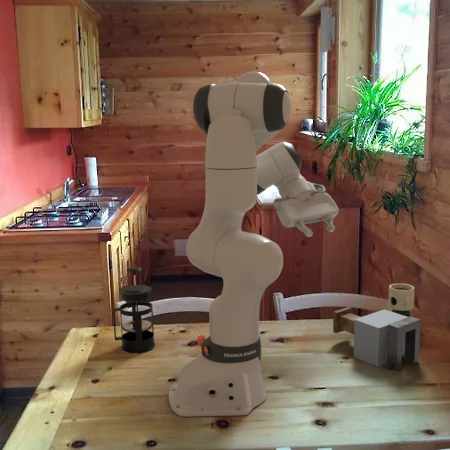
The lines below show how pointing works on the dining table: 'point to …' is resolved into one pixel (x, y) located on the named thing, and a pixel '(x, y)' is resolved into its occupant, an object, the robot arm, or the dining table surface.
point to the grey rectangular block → (374, 336)
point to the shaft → (345, 321)
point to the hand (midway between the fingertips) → (321, 233)
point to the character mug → (401, 298)
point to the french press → (135, 318)
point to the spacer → (395, 342)
